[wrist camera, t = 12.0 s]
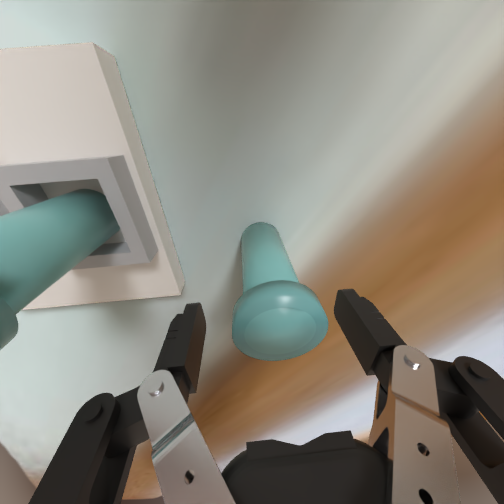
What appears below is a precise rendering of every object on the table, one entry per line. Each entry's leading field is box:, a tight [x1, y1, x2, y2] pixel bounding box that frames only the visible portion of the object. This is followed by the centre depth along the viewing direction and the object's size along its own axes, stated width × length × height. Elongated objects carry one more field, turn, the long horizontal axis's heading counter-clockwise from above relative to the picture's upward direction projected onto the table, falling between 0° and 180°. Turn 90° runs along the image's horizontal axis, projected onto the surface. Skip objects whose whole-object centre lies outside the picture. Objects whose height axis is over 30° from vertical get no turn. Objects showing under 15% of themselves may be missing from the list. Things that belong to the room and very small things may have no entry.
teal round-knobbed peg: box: [232, 222, 328, 361], centre depth 14 cm, size 5×5×10 cm
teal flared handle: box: [0, 189, 120, 350], centre depth 10 cm, size 5×5×10 cm
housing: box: [0, 42, 185, 310], centre depth 14 cm, size 17×17×4 cm
